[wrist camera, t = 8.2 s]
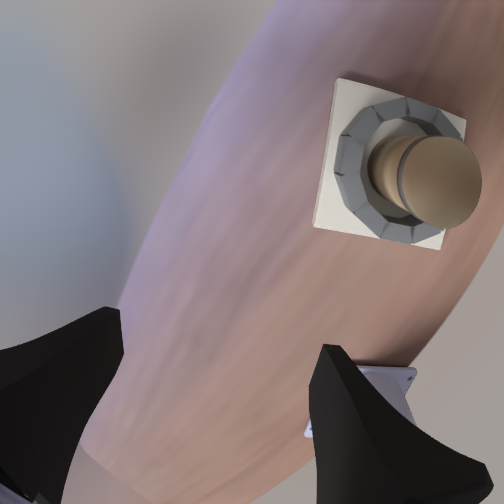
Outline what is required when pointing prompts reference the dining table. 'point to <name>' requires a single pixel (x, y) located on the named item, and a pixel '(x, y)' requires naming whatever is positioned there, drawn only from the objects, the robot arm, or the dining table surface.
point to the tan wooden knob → (427, 177)
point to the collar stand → (356, 158)
